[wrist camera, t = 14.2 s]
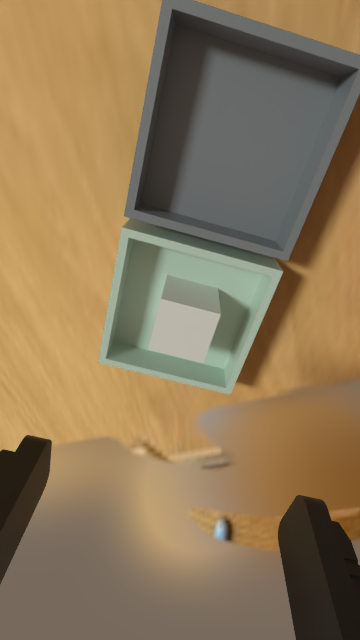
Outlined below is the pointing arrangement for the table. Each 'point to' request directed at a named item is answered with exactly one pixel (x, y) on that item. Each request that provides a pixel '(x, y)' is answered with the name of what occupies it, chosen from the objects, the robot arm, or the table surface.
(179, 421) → the table surface
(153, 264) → the bin
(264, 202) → the bin
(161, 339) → the light grey block
